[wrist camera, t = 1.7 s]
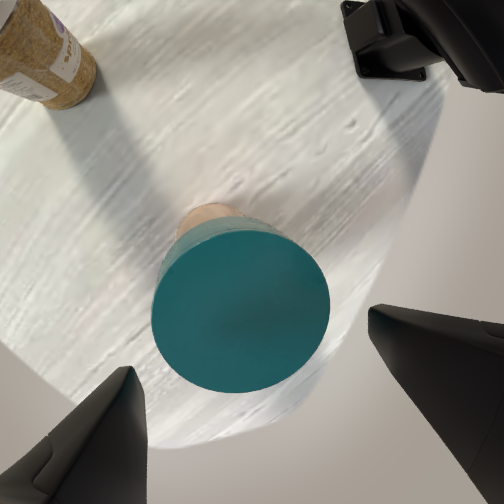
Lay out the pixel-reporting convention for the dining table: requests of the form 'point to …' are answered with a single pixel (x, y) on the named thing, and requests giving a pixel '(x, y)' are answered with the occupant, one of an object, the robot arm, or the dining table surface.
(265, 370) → the lid
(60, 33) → the sprinkles bottle
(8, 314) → the dining table surface
